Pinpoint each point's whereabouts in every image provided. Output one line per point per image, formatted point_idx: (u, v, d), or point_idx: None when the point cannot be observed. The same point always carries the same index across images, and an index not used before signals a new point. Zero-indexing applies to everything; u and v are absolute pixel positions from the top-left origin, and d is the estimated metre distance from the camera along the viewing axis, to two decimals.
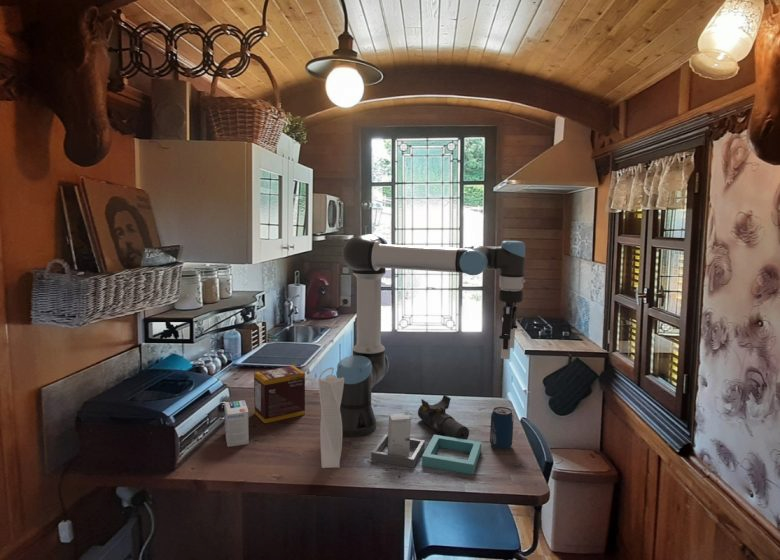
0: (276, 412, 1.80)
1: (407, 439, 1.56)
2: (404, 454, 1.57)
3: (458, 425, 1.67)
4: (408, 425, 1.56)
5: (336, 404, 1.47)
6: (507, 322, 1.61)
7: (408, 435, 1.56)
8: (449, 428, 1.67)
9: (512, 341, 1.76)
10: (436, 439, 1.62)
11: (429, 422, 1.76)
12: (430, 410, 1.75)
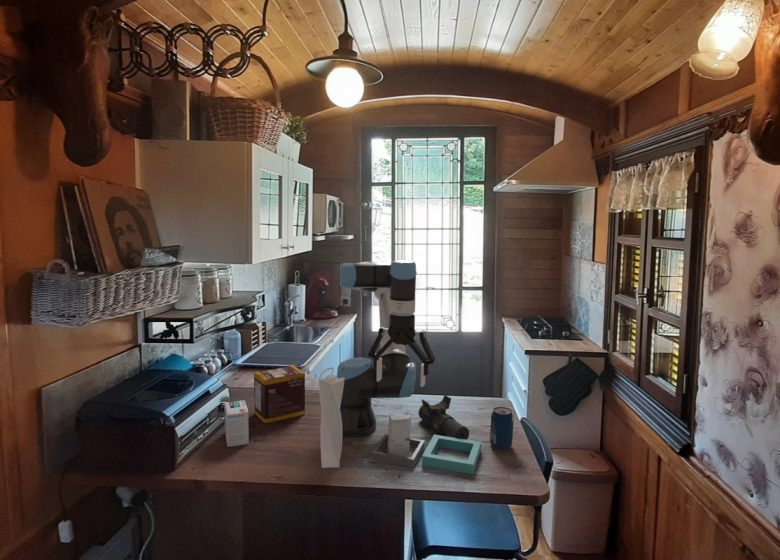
0: (276, 412, 1.80)
1: (407, 439, 1.56)
2: (404, 454, 1.57)
3: (458, 425, 1.67)
4: (408, 425, 1.56)
5: (336, 404, 1.47)
6: None
7: (408, 435, 1.56)
8: (449, 428, 1.67)
9: None
10: (436, 439, 1.62)
11: (429, 422, 1.76)
12: (430, 410, 1.75)
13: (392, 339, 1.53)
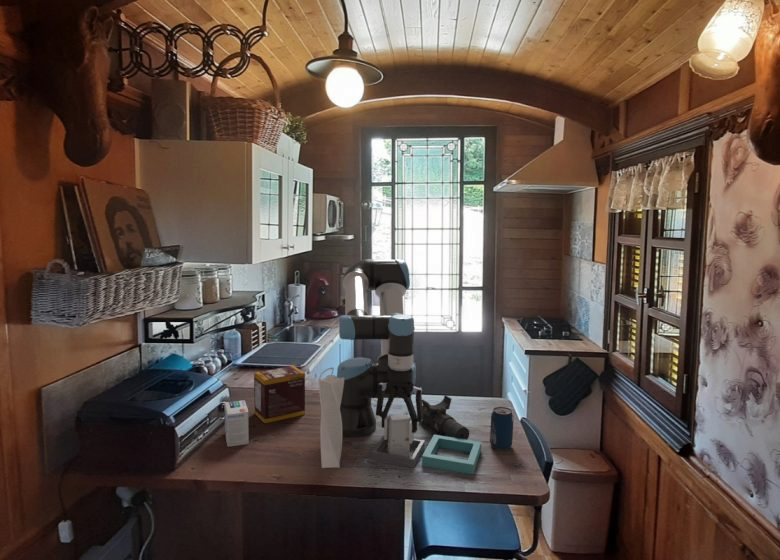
0: (276, 412, 1.80)
1: (407, 439, 1.56)
2: (404, 454, 1.57)
3: (458, 426, 1.66)
4: (408, 425, 1.56)
5: (336, 404, 1.47)
6: None
7: (408, 435, 1.56)
8: (449, 428, 1.67)
9: None
10: (436, 439, 1.62)
11: (430, 422, 1.76)
12: (431, 410, 1.75)
13: (392, 393, 1.55)
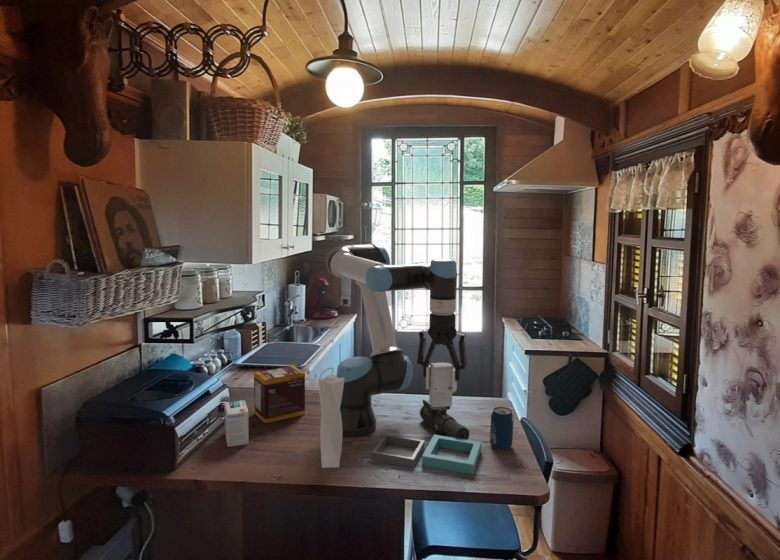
0: (276, 412, 1.80)
1: (449, 388, 1.51)
2: (447, 403, 1.52)
3: (458, 426, 1.66)
4: (450, 373, 1.51)
5: (336, 404, 1.47)
6: None
7: (451, 384, 1.51)
8: (449, 429, 1.67)
9: None
10: (436, 439, 1.62)
11: (430, 422, 1.76)
12: (431, 410, 1.74)
13: (434, 340, 1.50)
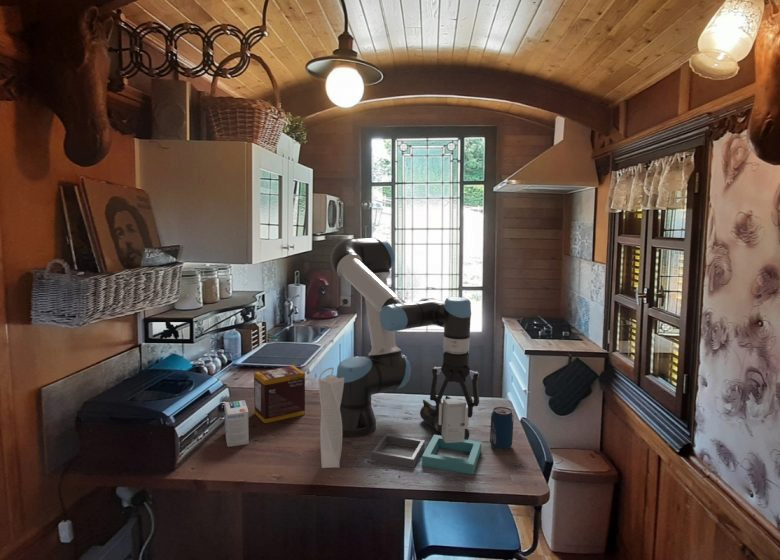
0: (276, 412, 1.80)
1: (462, 424, 1.53)
2: (459, 439, 1.54)
3: None
4: (463, 410, 1.53)
5: (336, 404, 1.47)
6: None
7: (463, 420, 1.53)
8: None
9: None
10: (436, 439, 1.62)
11: (430, 423, 1.76)
12: (431, 411, 1.74)
13: (448, 377, 1.52)
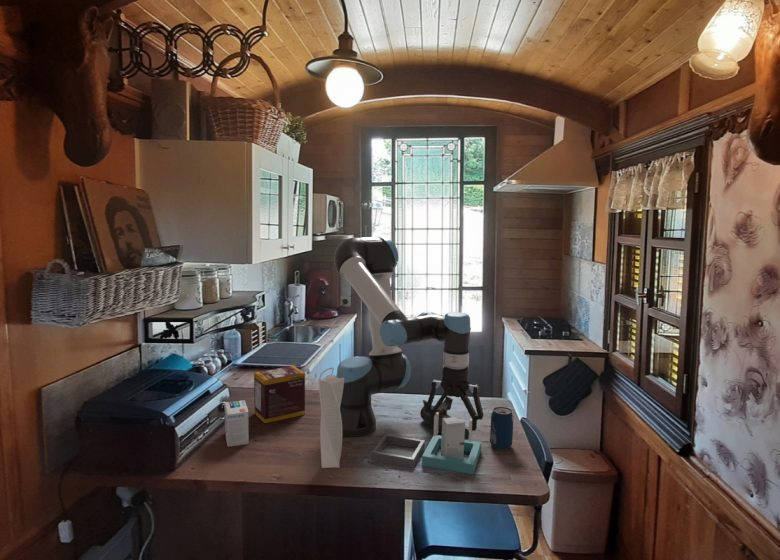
0: (276, 412, 1.80)
1: (461, 443, 1.54)
2: (458, 458, 1.55)
3: None
4: (462, 429, 1.54)
5: (336, 404, 1.47)
6: None
7: (462, 439, 1.54)
8: None
9: None
10: (436, 439, 1.62)
11: (430, 423, 1.76)
12: None
13: (446, 392, 1.53)
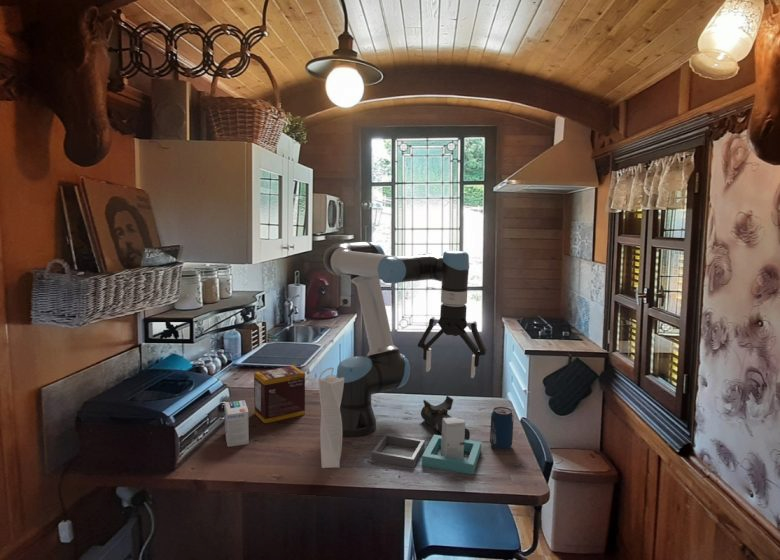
0: (276, 412, 1.80)
1: (461, 443, 1.54)
2: (458, 458, 1.55)
3: None
4: (462, 429, 1.54)
5: (336, 404, 1.47)
6: (425, 331, 1.56)
7: (462, 439, 1.54)
8: None
9: None
10: (436, 439, 1.62)
11: (431, 423, 1.76)
12: (432, 411, 1.74)
13: (443, 330, 1.53)
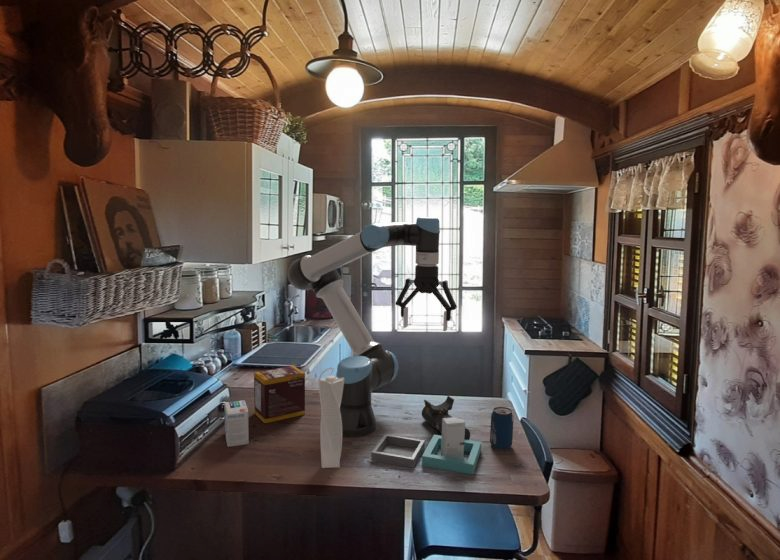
0: (276, 412, 1.80)
1: (461, 443, 1.54)
2: (458, 458, 1.55)
3: None
4: (462, 429, 1.54)
5: (336, 404, 1.47)
6: None
7: (462, 439, 1.54)
8: None
9: None
10: (436, 439, 1.62)
11: (432, 423, 1.76)
12: (432, 411, 1.74)
13: (418, 288, 1.70)
